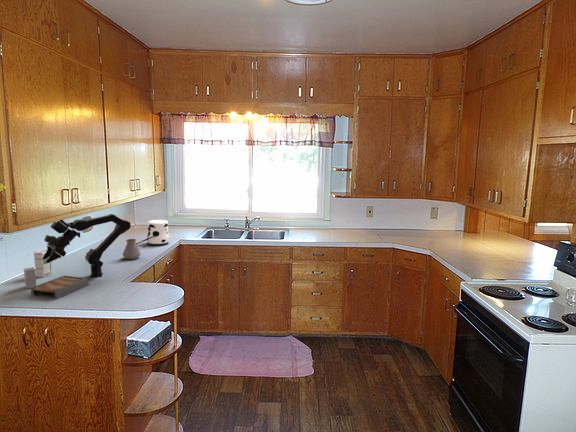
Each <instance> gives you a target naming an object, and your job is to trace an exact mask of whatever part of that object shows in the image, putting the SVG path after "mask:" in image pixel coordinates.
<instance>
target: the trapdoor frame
mask: <svg viewBox="0 0 576 432" xmlns="http://www.w3.org/2000/svg"><path fill="white" fill-rule="evenodd" d="M62 277H66V278H75V279H82V280H80V281H77V282H75V283H72V284H70V285H68V286H65V287H63V288H60V289H58V290H55V291H54V293H53V294H54V299H56V300H58V299H60V298H63V297H65V296H67V295H69V294H72V293H74V292H76V291H78V290H81V289H83V288H86V287H88V286H89V285H90V284H89V277H80V276H73V275H62V276H59V277H56V278H54V279H51V280H48V281H46V282H43V283H41V284H36V286H35V287H32V288H30V295H33V296H32V297H35V296H38V295H40V294H42V293H44V291H36V290H34V288H36V287H39V286H41V285H44V284H47V283H49V282H52V281H54V280H57V279H60V278H62ZM39 293H40V294H39ZM34 295H35V296H34Z"/></svg>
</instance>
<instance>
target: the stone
mask: <svg viewBox="0 0 576 432" xmlns="http://www.w3.org/2000/svg"><path fill="white" fill-rule="evenodd" d="M23 276H24V277H23V278H24V287H25V288H26V289H27V290H28V288H29V289H31V288H32V287H35V286H37V278H36V277H37V276H36V271H35V266H34V267H27V268H26V267H25V268H23Z"/></svg>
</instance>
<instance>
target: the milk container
mask: <svg viewBox="0 0 576 432" xmlns="http://www.w3.org/2000/svg"><path fill="white" fill-rule="evenodd" d="M152 236H154V237H155V238H154V237H152ZM150 237H152V238H150ZM147 238H150V239H149V240H146V242H147V243H148V244H149V245H154V246H159V245H166V244H168V243H169V242H170V239H171V237H170V234H169V221H168V220H165V219H151V220H149V221H147V236H146V239H147Z"/></svg>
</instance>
